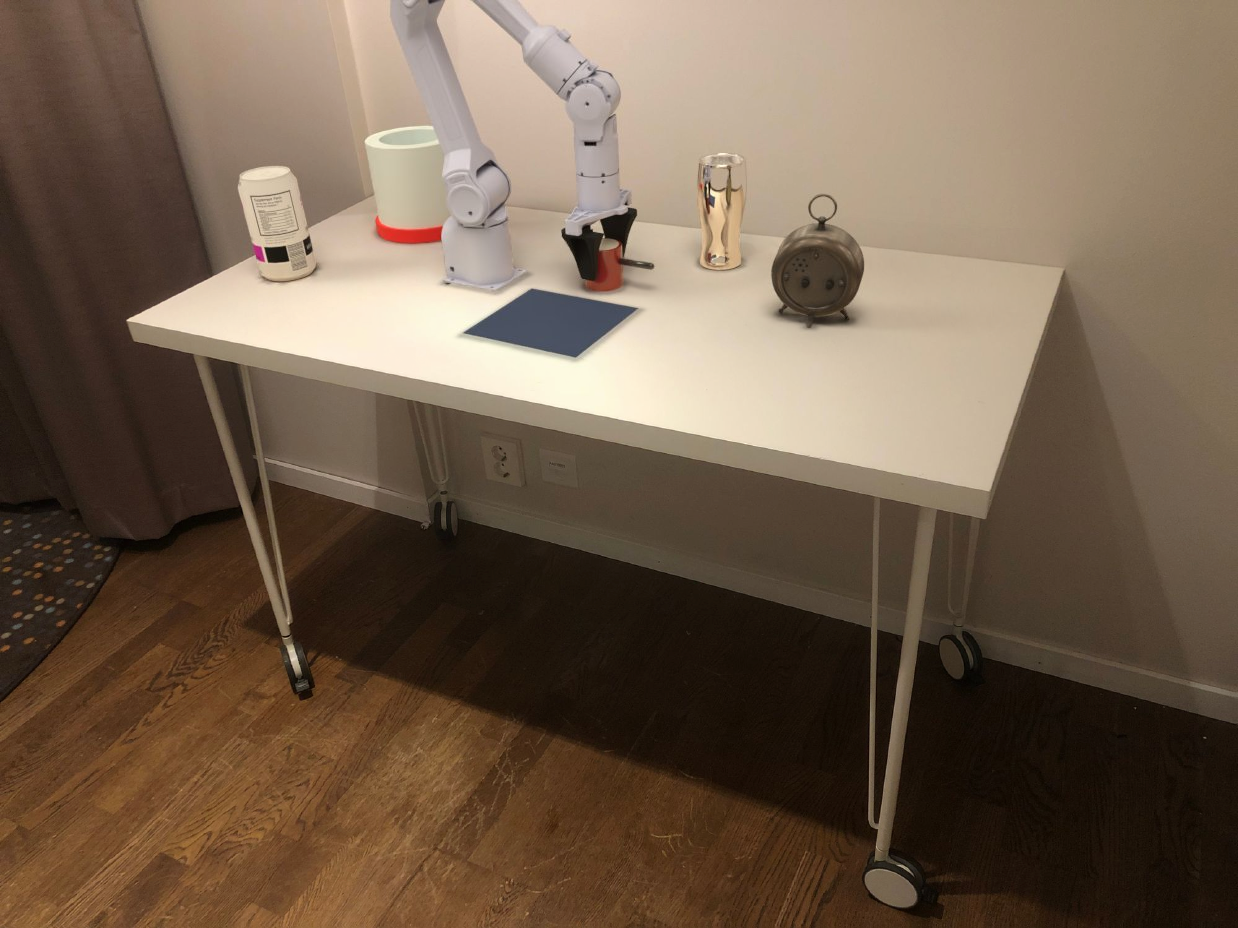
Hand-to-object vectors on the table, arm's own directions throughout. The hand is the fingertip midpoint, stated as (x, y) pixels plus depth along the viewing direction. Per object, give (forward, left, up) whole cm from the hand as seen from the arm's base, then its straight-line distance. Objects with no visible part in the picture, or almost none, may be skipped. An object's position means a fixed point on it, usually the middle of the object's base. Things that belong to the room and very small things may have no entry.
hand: (602, 269), depth 130 cm
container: (-40, +11, -3) cm, 42 cm away
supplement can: (-46, -14, -3) cm, 49 cm away
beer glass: (+12, +15, -3) cm, 19 cm away
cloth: (0, -13, -2) cm, 14 cm away
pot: (+3, 0, -2) cm, 4 cm away
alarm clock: (+31, +1, -3) cm, 31 cm away
